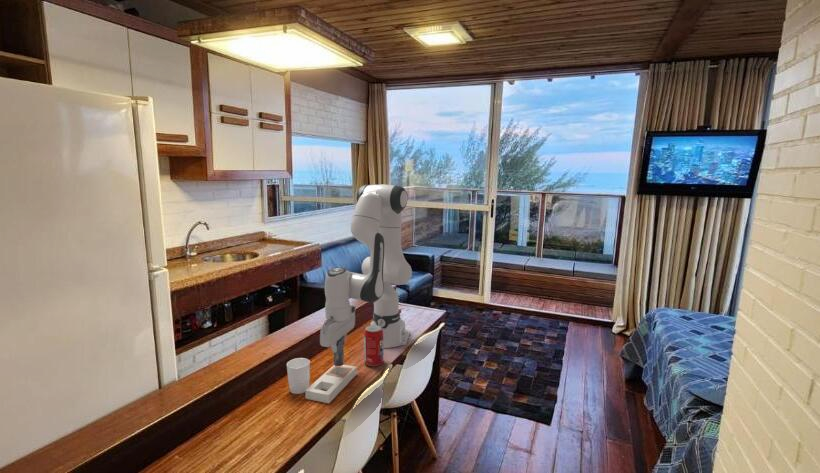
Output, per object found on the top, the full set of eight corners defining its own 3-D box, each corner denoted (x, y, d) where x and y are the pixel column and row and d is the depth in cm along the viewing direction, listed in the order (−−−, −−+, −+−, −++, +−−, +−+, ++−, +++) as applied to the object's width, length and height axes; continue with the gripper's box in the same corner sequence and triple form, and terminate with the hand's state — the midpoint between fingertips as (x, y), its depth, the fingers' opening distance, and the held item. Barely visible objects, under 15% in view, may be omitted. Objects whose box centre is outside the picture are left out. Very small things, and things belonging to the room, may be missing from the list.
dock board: (335, 370, 159) (335, 362, 158) (356, 374, 156) (356, 366, 155) (305, 398, 139) (305, 389, 139) (328, 403, 136) (328, 394, 136)
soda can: (360, 363, 165) (359, 328, 162) (374, 356, 170) (374, 322, 168) (373, 369, 160) (372, 333, 157) (387, 363, 165) (387, 327, 163)
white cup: (315, 385, 148) (314, 359, 146) (302, 396, 140) (301, 369, 139) (296, 381, 150) (295, 356, 149) (283, 392, 143) (281, 366, 141)
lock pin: (336, 360, 154) (335, 332, 152) (346, 362, 153) (346, 333, 151) (330, 365, 150) (329, 336, 148) (341, 367, 148) (340, 338, 147)
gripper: (331, 323, 137) (332, 362, 140) (357, 305, 156) (358, 339, 159) (314, 321, 139) (316, 359, 142) (343, 303, 158) (343, 336, 161)
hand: (338, 348), depth 150 cm, fingers closed on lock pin, 4 cm apart
